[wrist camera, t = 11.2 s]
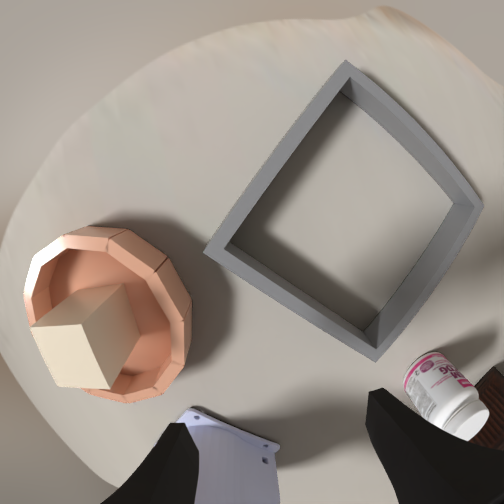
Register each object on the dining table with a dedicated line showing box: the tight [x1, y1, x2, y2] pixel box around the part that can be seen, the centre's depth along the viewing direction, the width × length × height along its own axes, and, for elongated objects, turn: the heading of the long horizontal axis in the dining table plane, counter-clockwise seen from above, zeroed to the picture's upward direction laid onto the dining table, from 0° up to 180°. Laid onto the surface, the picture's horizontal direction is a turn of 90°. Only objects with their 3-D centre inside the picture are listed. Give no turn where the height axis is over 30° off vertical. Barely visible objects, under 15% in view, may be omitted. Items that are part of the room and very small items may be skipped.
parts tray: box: [203, 60, 484, 363], centre depth 17 cm, size 14×14×2 cm
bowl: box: [23, 226, 192, 403], centre depth 17 cm, size 12×12×3 cm
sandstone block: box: [30, 283, 141, 389], centre depth 15 cm, size 4×4×6 cm
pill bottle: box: [403, 352, 489, 441], centre depth 17 cm, size 5×5×8 cm
